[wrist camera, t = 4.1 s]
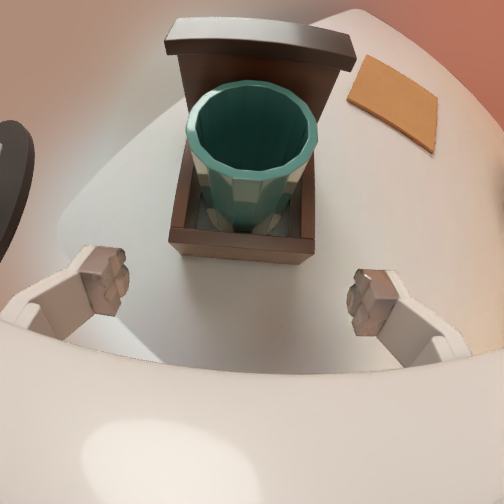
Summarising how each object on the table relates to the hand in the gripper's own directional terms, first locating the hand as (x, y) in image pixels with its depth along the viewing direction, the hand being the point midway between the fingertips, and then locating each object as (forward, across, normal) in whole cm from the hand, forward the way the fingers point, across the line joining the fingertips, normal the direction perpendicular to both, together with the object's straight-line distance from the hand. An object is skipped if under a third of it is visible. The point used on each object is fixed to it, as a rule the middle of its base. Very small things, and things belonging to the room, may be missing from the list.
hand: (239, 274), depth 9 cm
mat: (+26, -18, -9) cm, 33 cm away
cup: (+14, 0, +4) cm, 15 cm away
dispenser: (+15, 0, +3) cm, 15 cm away
